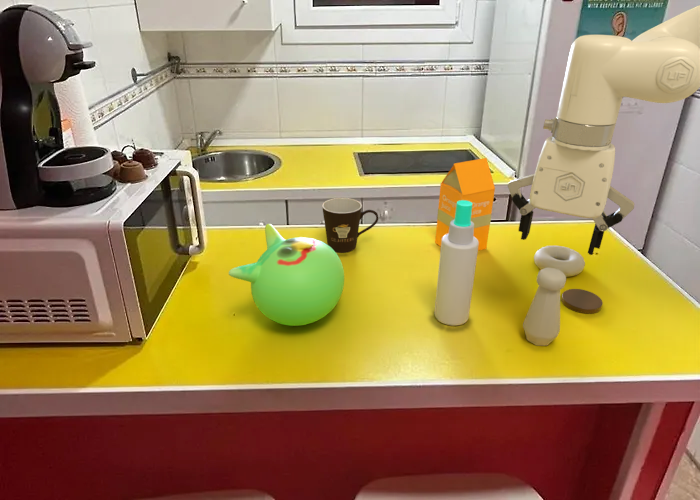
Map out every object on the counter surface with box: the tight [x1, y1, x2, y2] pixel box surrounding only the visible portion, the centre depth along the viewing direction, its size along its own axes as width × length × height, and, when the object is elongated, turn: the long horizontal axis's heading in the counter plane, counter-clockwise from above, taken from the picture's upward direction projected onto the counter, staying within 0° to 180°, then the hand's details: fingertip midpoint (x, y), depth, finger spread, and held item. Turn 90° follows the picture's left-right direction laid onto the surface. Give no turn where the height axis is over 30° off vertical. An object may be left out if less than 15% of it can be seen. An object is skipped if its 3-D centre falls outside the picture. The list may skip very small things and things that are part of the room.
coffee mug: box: [321, 197, 379, 254], centre depth 114 cm, size 12×9×10 cm
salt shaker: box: [522, 268, 567, 347], centre depth 84 cm, size 6×6×13 cm
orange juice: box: [434, 157, 496, 252], centre depth 113 cm, size 8×9×20 cm
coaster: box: [560, 288, 604, 315], centre depth 97 cm, size 7×7×1 cm
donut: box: [533, 245, 586, 278], centre depth 108 cm, size 10×4×10 cm
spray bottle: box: [434, 200, 479, 327], centre depth 88 cm, size 6×6×22 cm
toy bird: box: [228, 223, 345, 327], centre depth 90 cm, size 18×17×15 cm
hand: (557, 243), depth 79 cm, fingers open, 9 cm apart
